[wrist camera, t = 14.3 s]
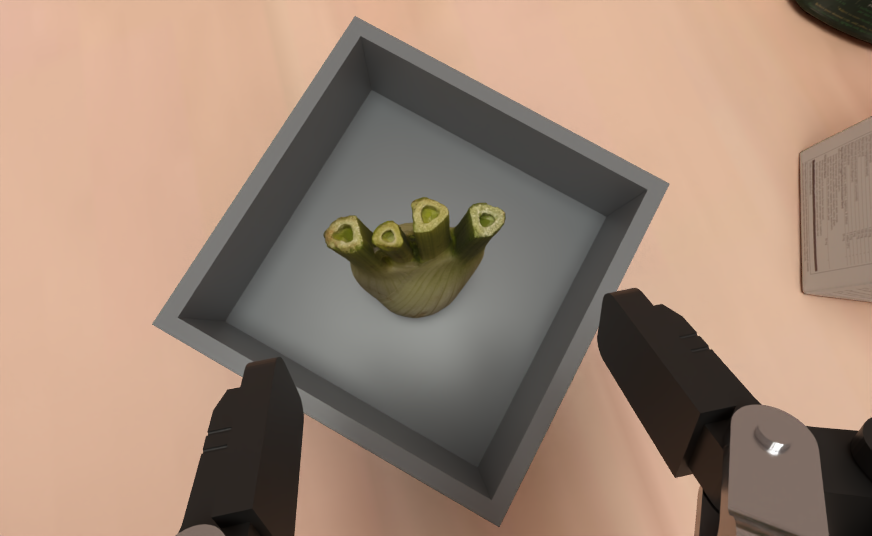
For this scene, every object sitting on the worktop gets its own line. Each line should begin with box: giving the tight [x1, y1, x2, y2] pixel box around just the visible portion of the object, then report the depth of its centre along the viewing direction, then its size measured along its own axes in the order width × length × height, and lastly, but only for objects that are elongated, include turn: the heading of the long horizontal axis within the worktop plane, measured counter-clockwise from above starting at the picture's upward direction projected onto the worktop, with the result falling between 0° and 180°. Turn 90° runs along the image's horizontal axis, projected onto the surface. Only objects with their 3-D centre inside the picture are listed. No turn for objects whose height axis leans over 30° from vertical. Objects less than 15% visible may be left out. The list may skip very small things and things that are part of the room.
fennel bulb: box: [323, 197, 506, 318], centre depth 20 cm, size 6×5×12 cm
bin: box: [152, 16, 669, 527], centre depth 24 cm, size 18×18×6 cm
